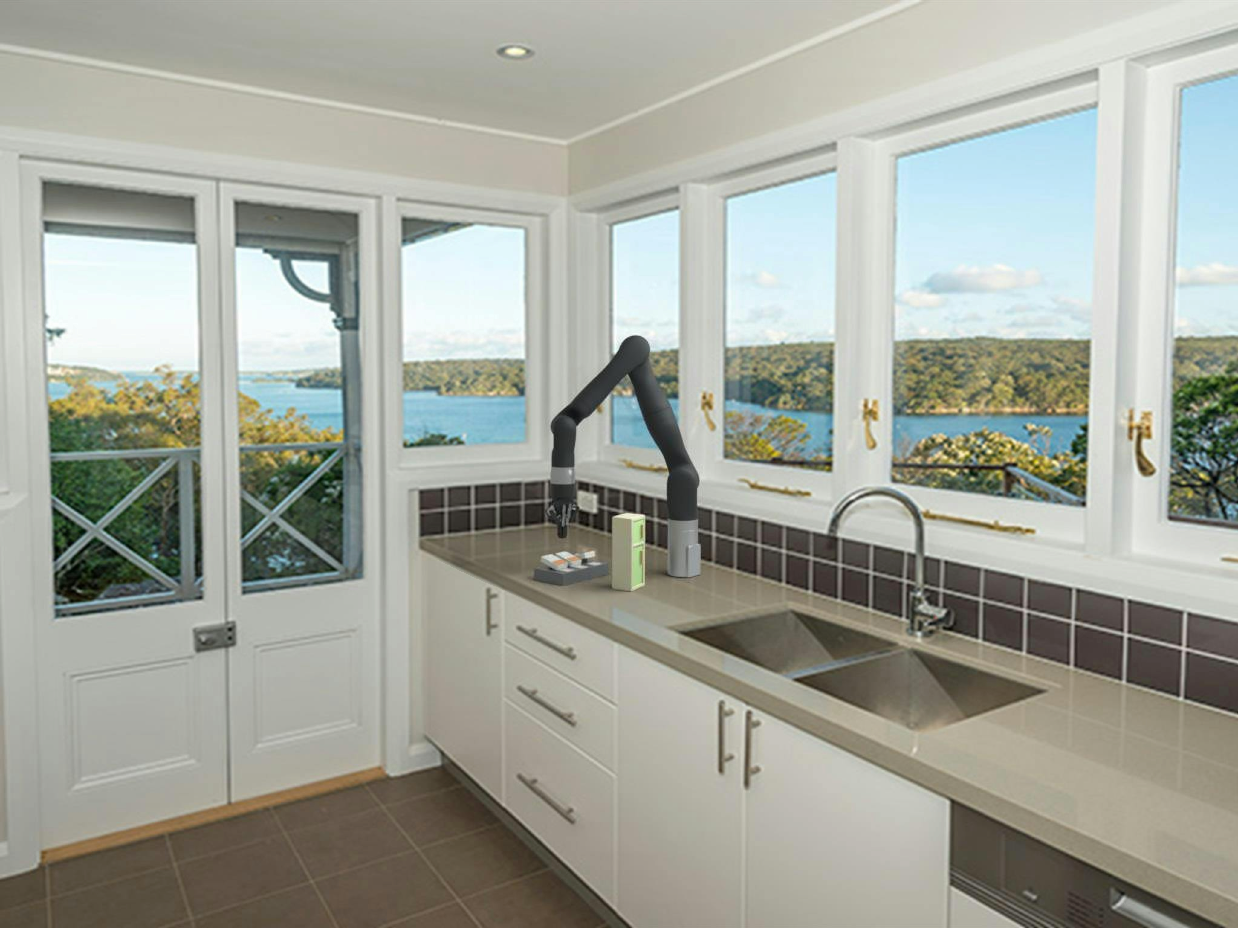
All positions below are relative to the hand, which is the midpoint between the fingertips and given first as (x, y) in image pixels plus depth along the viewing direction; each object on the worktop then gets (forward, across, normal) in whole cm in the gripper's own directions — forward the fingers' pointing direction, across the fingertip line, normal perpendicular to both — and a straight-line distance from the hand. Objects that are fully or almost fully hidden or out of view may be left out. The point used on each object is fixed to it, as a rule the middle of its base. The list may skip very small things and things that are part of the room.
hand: (562, 537), depth 285 cm
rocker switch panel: (+11, +2, -4) cm, 12 cm away
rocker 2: (+6, +6, -2) cm, 9 cm away
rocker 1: (+6, -6, -2) cm, 9 cm away
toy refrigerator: (+11, +1, -26) cm, 29 cm away
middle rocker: (+6, 0, -2) cm, 7 cm away
